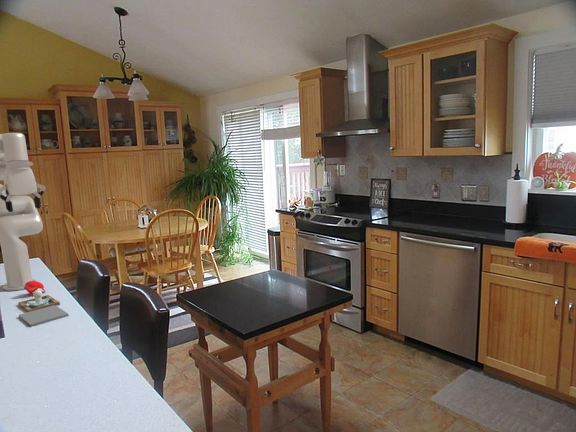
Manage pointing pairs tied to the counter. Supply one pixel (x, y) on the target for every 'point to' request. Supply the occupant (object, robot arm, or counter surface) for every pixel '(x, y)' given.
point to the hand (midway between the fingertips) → (24, 209)
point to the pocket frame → (54, 302)
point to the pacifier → (38, 299)
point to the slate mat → (43, 315)
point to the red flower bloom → (33, 286)
